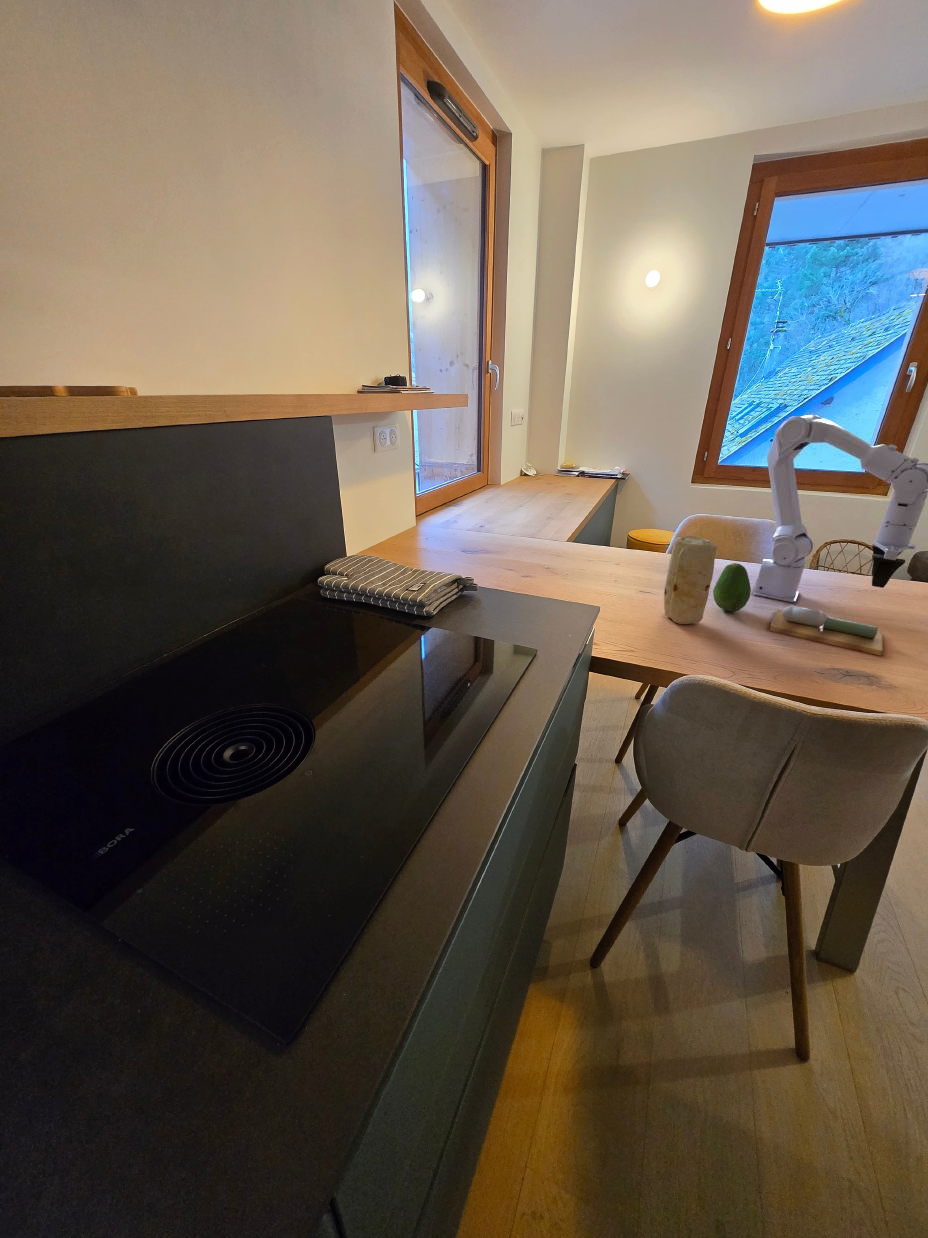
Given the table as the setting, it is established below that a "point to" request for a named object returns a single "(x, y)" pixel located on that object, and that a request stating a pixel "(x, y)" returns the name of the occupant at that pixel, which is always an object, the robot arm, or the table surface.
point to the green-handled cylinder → (827, 621)
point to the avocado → (732, 588)
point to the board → (827, 635)
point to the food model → (689, 579)
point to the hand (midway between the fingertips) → (877, 581)
